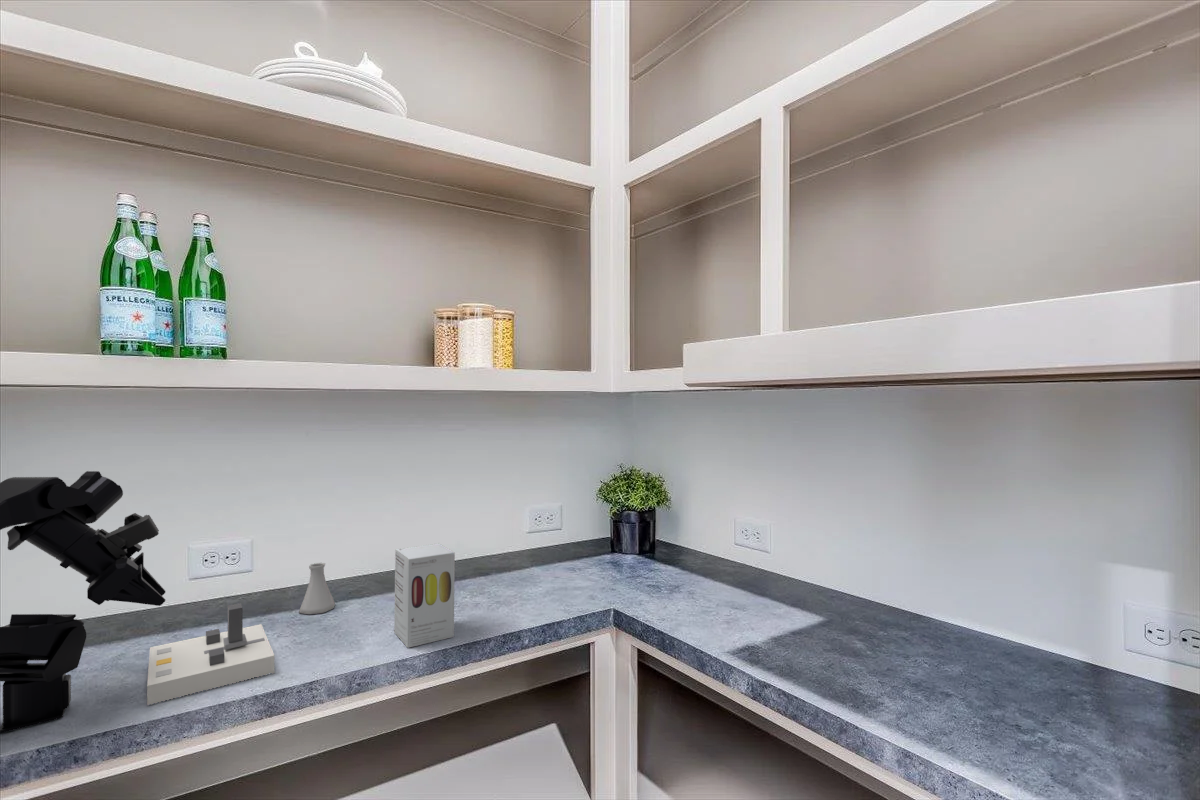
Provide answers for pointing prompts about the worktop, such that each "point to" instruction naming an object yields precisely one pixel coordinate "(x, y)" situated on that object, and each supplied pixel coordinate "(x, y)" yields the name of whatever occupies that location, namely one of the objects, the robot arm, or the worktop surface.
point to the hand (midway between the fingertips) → (163, 598)
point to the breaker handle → (235, 627)
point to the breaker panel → (206, 663)
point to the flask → (317, 592)
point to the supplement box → (424, 594)
